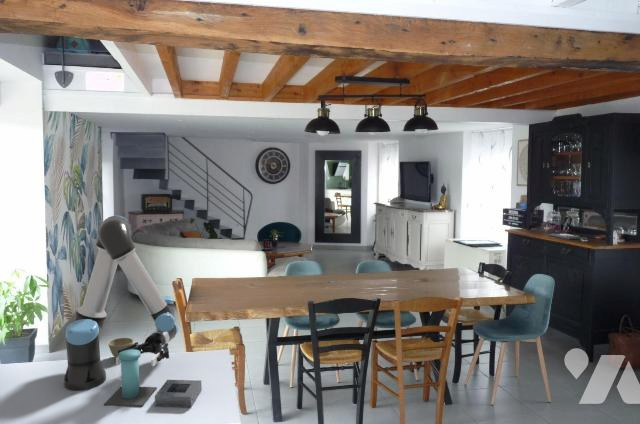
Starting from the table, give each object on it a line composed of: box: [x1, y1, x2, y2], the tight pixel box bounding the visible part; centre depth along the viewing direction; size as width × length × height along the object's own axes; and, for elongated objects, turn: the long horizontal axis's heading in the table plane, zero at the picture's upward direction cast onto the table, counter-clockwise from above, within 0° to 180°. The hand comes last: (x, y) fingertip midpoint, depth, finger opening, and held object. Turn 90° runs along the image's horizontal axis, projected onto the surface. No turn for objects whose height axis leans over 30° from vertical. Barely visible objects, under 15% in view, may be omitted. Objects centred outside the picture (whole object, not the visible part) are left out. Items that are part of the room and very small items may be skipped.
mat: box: [103, 385, 158, 408], centre depth 202 cm, size 14×14×1 cm
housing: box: [154, 379, 203, 409], centre depth 200 cm, size 13×13×4 cm
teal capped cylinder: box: [118, 349, 142, 399], centre depth 201 cm, size 8×8×16 cm
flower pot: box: [108, 337, 134, 360], centre depth 237 cm, size 10×10×7 cm
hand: (134, 362), depth 204 cm, fingers open, 13 cm apart
